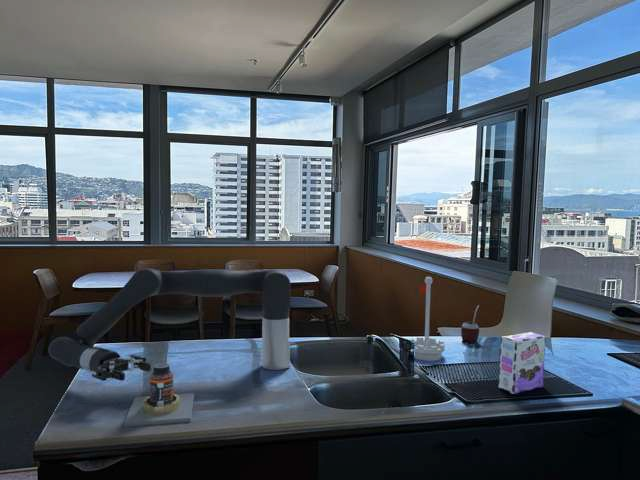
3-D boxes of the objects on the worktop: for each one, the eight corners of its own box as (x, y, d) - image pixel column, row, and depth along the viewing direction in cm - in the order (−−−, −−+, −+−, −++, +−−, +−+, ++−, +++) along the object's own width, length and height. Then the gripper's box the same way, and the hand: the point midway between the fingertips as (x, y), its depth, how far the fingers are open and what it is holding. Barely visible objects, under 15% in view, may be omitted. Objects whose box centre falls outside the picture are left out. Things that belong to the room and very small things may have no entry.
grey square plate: (194, 396, 134) (194, 393, 134) (190, 421, 119) (190, 417, 119) (135, 400, 131) (135, 397, 131) (123, 426, 115) (123, 422, 115)
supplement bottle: (165, 412, 122) (165, 370, 121) (145, 410, 123) (144, 368, 122) (177, 403, 127) (177, 362, 127) (157, 401, 129) (157, 360, 128)
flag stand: (451, 357, 173) (454, 277, 171) (427, 363, 166) (430, 280, 164) (425, 348, 184) (427, 273, 182) (401, 354, 177) (403, 275, 175)
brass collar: (180, 398, 130) (180, 391, 130) (177, 413, 121) (177, 405, 121) (146, 401, 128) (146, 394, 128) (140, 415, 119) (140, 408, 119)
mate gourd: (462, 344, 191) (463, 308, 190) (459, 338, 198) (460, 304, 197) (481, 345, 189) (482, 309, 188) (477, 340, 197) (479, 305, 196)
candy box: (513, 394, 139) (515, 340, 138) (497, 388, 144) (499, 335, 143) (544, 387, 146) (546, 335, 144) (527, 380, 151) (530, 331, 150)
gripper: (76, 355, 131) (114, 366, 122) (121, 343, 143) (157, 352, 135) (77, 381, 131) (114, 393, 123) (121, 366, 143) (157, 377, 135)
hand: (137, 372), depth 129 cm, fingers open, 8 cm apart
